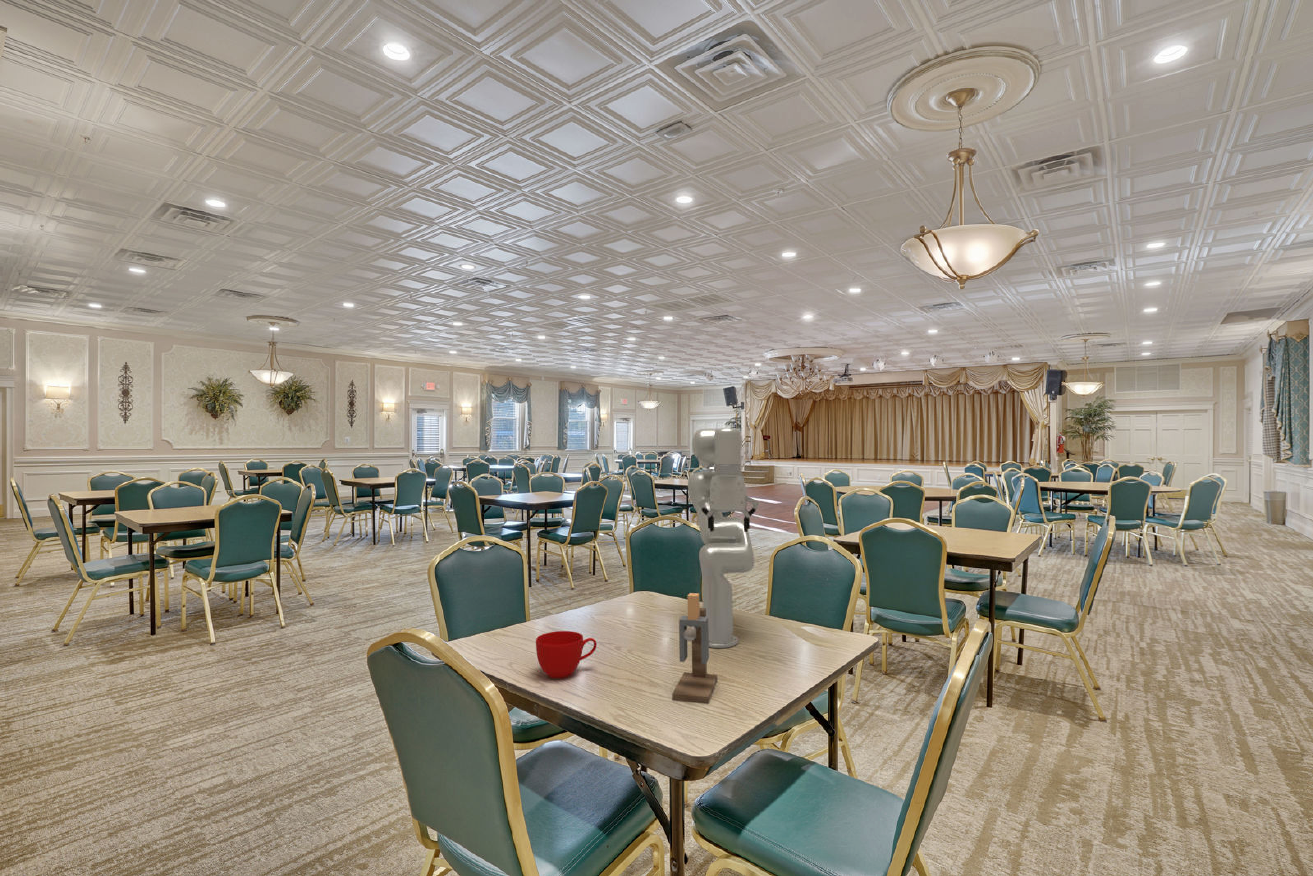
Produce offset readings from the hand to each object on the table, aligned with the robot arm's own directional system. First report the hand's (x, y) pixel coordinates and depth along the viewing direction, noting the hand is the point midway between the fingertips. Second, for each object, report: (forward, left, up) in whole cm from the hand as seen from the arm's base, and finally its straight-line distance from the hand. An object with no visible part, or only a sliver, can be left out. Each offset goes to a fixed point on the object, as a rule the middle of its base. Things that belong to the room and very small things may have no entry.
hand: (728, 531), depth 167 cm
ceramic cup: (-10, -45, -38) cm, 60 cm away
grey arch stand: (+13, -16, -30) cm, 37 cm away
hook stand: (+12, -15, -38) cm, 43 cm away
